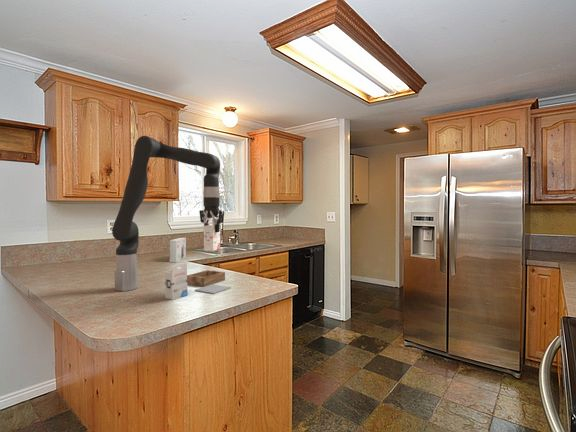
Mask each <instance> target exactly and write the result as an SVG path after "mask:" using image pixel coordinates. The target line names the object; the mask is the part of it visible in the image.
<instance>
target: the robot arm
mask: <svg viewBox="0 0 576 432" xmlns="http://www.w3.org/2000/svg"><path fill="white" fill-rule="evenodd" d="M133 150H134V151H133V156H132V161H131V162H132V163H131V167H130V169H129V170H130V171H129V172H128V173H129V174H128V179H127V181H126V184H125V188H124V191H123V192H124V193H123V196H122V200H121V203H120V207H119V210H118V213H117V215H116V218H115V221H114V222H113V226H112V229H111V233H112V237H113V238H114V239H115V240H116V241H119V245H118V247H116V249H115V270H114V291H119V292H125V291H133V290H137V289H138V288H139V286H138V285H139V282H138V281H139V280H138V279H139V278H138V247H139V243H140V242H139V239H140V236H139V235H140V233H139V227H138V225H137V224H136V222H134V220H133V219H134V216H135V214H136V212H137V210H138V209H139V208H140V206H141V205H142V203H143V201H144V199H145V197H146V193H147V190H148V186H149V180H148V179H149V177H148V164H149V160H150V158H156V159H159V158H161V159H168V160H173V161H175V162H178V163H182V164H186V165H191V166H197V167H201V168H204V169H206V171H205V172H206V173H205V175H204V176H203V191H202V194H203V202H202V203H203V207H204V208H203V209H201V210H199V211H198V213H199V219H200V222H201V223H202V224H203V226H208V225H210V224H209V223H210V221H211V220H212V219H214V222H215V232H219V231H220V232H221V225H220V224H223V223H224V219H225V210H224V209H222V210H220V206H221V205H220V202H221V201H220V198H221V197H220V185H219V184H220V179H219V178H220V172H221V160H220V159H219V157H218V156H216V155H215V154H212V153H208V152H203V151H198V150H194V149H189V148H184V147H177V146H171V145H168V144H165V143H163V142H160V141H158V140H156V139H155V138H152V137H150V136H148V135H142V136H140V137H138V139H136V141H135V145H134V149H133ZM201 223H200V224H201Z"/></svg>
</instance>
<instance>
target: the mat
mask: <svg viewBox="0 0 576 432" xmlns="http://www.w3.org/2000/svg"><path fill="white" fill-rule="evenodd" d="M230 289H232V287H231V286H227V285H226V286H225V285H219V284H211V285H208V286H205V287H202V286H201V287H199V288H196V289H194V291H195V292H199V293H205V294H212V295H216V294H219V293H221V292H225V291H227V290H230Z"/></svg>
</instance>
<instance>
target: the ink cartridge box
mask: <svg viewBox="0 0 576 432" xmlns="http://www.w3.org/2000/svg"><path fill="white" fill-rule="evenodd" d="M220 249H221V230H220V231H219V232H215V222H214V219H213V218H211V224H209V225H208V226H204V225H203V251H205V252H206V251H208V252H209V251H210V252H214V251H217V250H220Z"/></svg>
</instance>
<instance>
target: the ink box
mask: <svg viewBox="0 0 576 432" xmlns="http://www.w3.org/2000/svg"><path fill="white" fill-rule="evenodd" d="M179 267H180V268H179ZM187 268H188V267H187V263H186V262H185V263H179V264H175V265H172V266H171V270H169V271H164V293H165V295H164V297H165V299H167V300H170V301H174V300H177V299H180V298H183V297H187V296H188V295H189V294H188V293H189V292H188V284H187V275H188V269H187Z"/></svg>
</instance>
